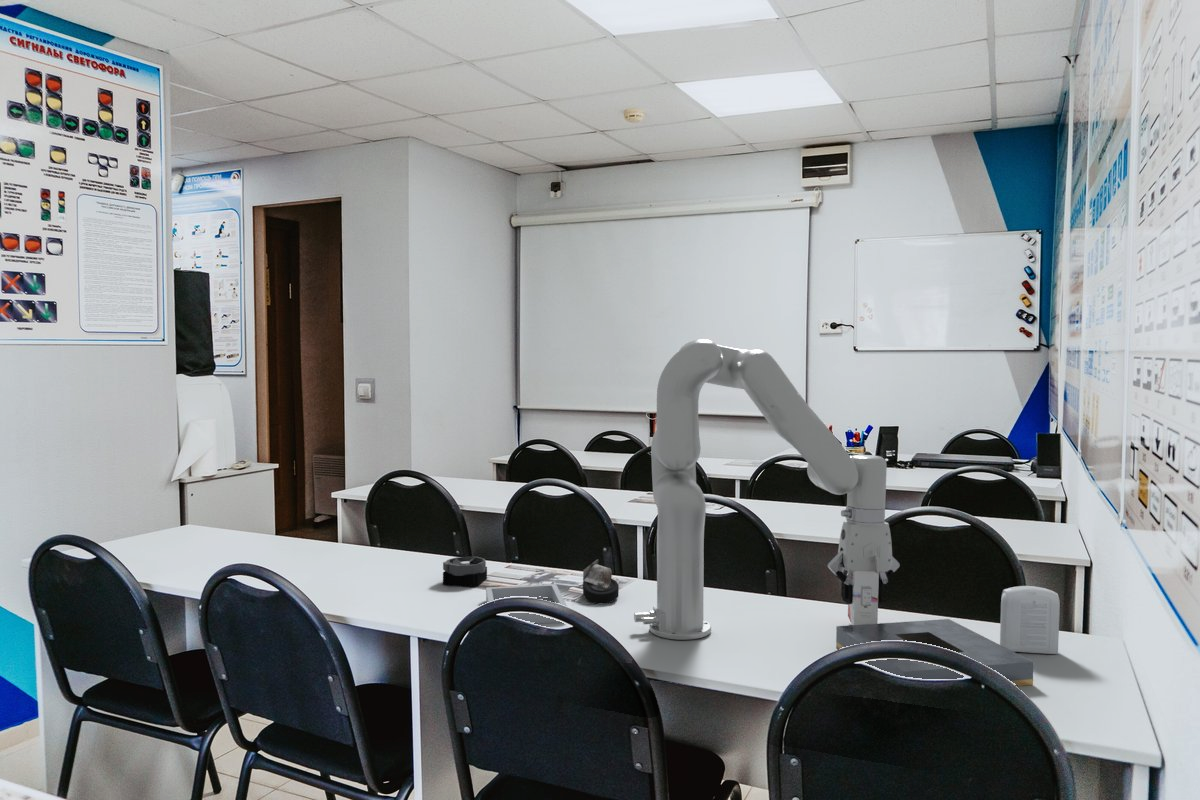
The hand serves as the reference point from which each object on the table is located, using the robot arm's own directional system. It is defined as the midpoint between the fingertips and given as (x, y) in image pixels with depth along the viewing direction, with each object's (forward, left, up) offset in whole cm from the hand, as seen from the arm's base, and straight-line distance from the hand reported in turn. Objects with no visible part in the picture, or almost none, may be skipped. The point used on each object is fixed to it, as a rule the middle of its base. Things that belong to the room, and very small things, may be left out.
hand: (862, 600), depth 170 cm
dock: (+2, -21, -6) cm, 22 cm away
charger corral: (-67, +26, -6) cm, 72 cm away
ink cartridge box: (0, 0, -5) cm, 5 cm away
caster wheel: (-49, +33, -6) cm, 59 cm away
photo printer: (+25, -18, -6) cm, 31 cm away
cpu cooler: (-80, +53, -6) cm, 96 cm away
